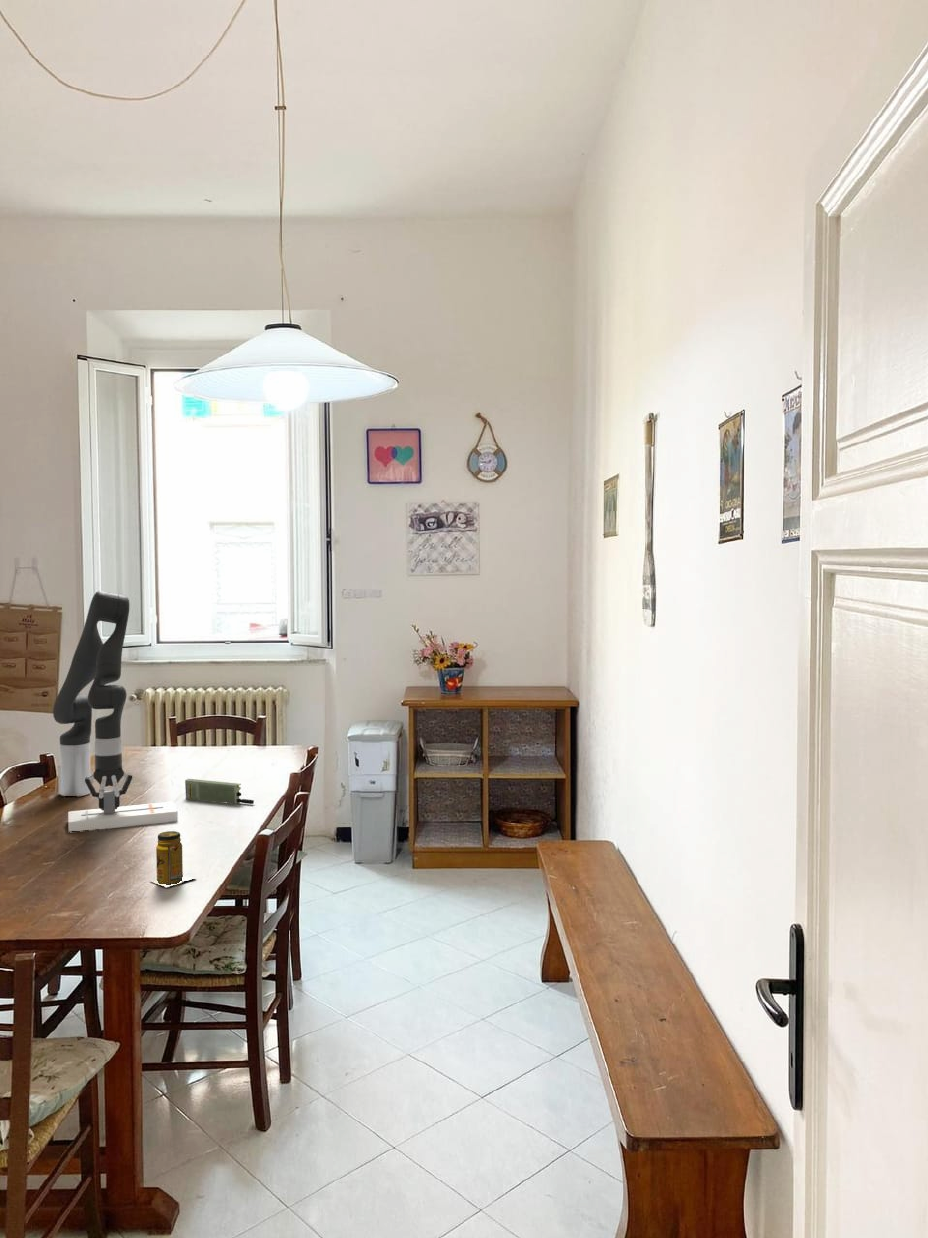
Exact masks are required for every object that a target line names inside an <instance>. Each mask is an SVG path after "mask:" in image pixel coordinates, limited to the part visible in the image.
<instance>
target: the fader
mask: <svg viewBox="0 0 928 1238" xmlns="http://www.w3.org/2000/svg"><path fill="white" fill-rule="evenodd" d="M103 797H104V814H112V813H115V791H114V788H111V789H104V795H103Z"/></svg>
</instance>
